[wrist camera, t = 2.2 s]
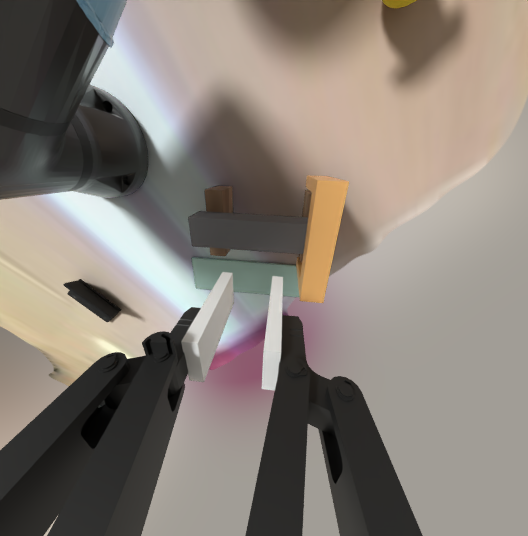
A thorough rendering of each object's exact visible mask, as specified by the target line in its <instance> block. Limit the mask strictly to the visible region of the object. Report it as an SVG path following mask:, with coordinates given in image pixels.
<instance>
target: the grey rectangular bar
mask: <svg viewBox="0 0 528 536" xmlns="http://www.w3.org/2000/svg"><path fill="white" fill-rule="evenodd" d="M188 220H189V227H190V234H191V242H192V246H195V247H209V248H223V249H237V250H251V251H265V252H279V253H293V254H303V253H304V246H305V239H306V231H307V224H308V217H292V216H275V215H258V214H241V213H224V212H207V211H199V212H197V213H195V214H193V215H192V216H190V217H188Z"/></svg>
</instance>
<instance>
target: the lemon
mask: <svg viewBox="0 0 528 536" xmlns="http://www.w3.org/2000/svg"><path fill="white" fill-rule="evenodd" d="M382 1H383V3H384V4H385V5H387V6H388V7H390V8H400V7H405V6H407V5H409V4H411V3H413V2H415V1H417V0H382Z"/></svg>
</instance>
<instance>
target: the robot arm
mask: <svg viewBox="0 0 528 536" xmlns="http://www.w3.org/2000/svg"><path fill="white" fill-rule="evenodd" d="M126 1H127V0H0V200H2V199H10V198H18V197H26V196H35V195H43V194H51V193H59V192H66V191H75V192H80V193H84V194H89V195H94V196H99V197H105V198H115V197H120V196H125V195H129V194H131V193H133V192H135V191H136V190H137V189H138V188H139V187H140V186H141V185H142V183H143V182H144V180H145V177H146V174H147V170H148V152H147V146H146V143H145V139H144V136H143V134H142V131H141V129H140V127H139V125H138V124H137V122H136V120H135V119H134V117H133V116H132V114H131V113H130V112H129V111H128V109H127V108H126V107H125V106H124V105H123V104H122V103H121V102H120V101H119V100H118V99H116V98H115V97H114V96H112V95H111V94H109V93H108V92H106V91H104V90H102V89H100V88H97V87H95V86H92V85H90V82H91V80H92V78H93V76H94V74H95V72H96V70H97V68H98V66H99V64H100V63H101V61H102V59H103V57H104V55H105V53H106V51H107V49H108V47H112V46H113V43H114V42H113V35H114V32H115V30H116V27H117V25H118V22H119V19H120V17H121V14H122V12H123V10H124V7H125V5H126ZM282 297H283V277H278V276H272V284H271V293H270V301H269V310H268V318H267V326H266V335H265V343H264V354H263V375H262V389H267V390H275V393H274V398H273V403H272V408H271V413H270V418H269V422H268V427H267V432H266V437H265V442H264V447H263V452H262V457H261V462H260V467H259V473H258V477H257V482H256V487H255V492H254V497H253V502H252V506H251V511H250V516H249V521H248V526H247V531H246V536H302V528H303V508H304V487H305V467H306V446H307V424H310V425H312V426H314V427H316V428H318V429H319V433H320V438H321V444H322V449H323V454H324V458H325V463H326V468H327V473H328V478H329V483H330V488H331V493H332V497H333V503H334V508H335V512H336V518H337V523H338V528H339V533H340V536H422V533H421V531H420V529H419V526H418V524H417V522H416V519H415V517H414V514H413V512H412V510H411V508H410V505H409V503H408V500H407V498H406V496H405V493H404V491H403V489H402V486H401V484H400V481H399V479H398V477H397V474H396V472H395V470H394V467H393V465H392V463H391V460H390V458H389V455H388V453H387V451H386V448H385V446H384V444H383V442H382V439H381V437H380V434H379V432H378V430H377V427H376V425H375V423H374V420H373V418H372V415H371V413H370V411H369V408H368V406H367V404H366V401H365V399H364V397H363V394H362V392H361V390H360V389H359V387H358V386H357V385H356V384H355V383H354V382H353V381H352V380H349V379H348V378H346V377H341V376H338V377H334V378H333V379H331V380H329V379H327V378H324V377H322V376H320V375H318V374H316V373H315V372H314V371H312V370H311V368H310V367H309V366H308V364H307V361H306V355H305V344H304V335H303V326H302V322H301V320H300V319H299V317H296V316H286V315H282ZM233 304H234V296H233V273H228V272H222V274H221V275H220V277H219V279H218V280H217V282H216V284H215V285H214V287H213V289H212V290H211V292H210V294H209V296H208V297H207V299H206V301H205V302H204V304H203V306H202V307H201V308H194V307H191V308H190V309H189V310H187V311H186V312H185V313H184V314H183V315H182V317H181V318H180V320H179V321H178V323H177V325H176V326H175V327H174V329H173V330H172V331H171V333H169V332H157V333H155V334H152V335H150V336H149V337H147V338H146V339H145V340H144V341H143V342H142V345H143V348H144V351H145V354H146V356H142V357H136V358H130V359H127V358H126V356H125V354H123V353H119V352H115V353H111V354H108V355H106V356H104V357H102V358H100V359H99V360H98V361H96V362H95V363H94V364H93V365H92V366H91V367H90V368H89V369H87V370H86V371H85V372H84V373H83V374H82V375H81V376H80V377H79V378H78V379H77V380H76V381H75V382H73V383H72V384H71V385H70V386H69V387H68V388H67V389H66V390H65V391H64V392H63V393H62V394H61V395H60V396H59V397H57V398H56V399H55V400H54V401H53V402H52V403H51V404H50V405H49V406H48V407H47V408H45V409H44V410H43V411H42V412H41V413H40V414H39V415H38V416H37V417H36V418H35V419H34V420H33V421H31V422H30V423H29V424H28V425H27V426H26V427H25V428H24V429H23V430H22V431H21V432H20V433H19V434H17V435H16V436H15V437H14V438H13V439H12V440H11V441H10V442H9V443H8V444H7V445H6V446H5V447H3V448H2V450H0V536H43V535H44V534H45V533H46V531H47V530H48V528H49V527H50V525H51V524H52V523H53V521H54V520H55V519H56V517H57V516H58V517H57V519H56V521H55V522H54V524H53V526H52V528H51V530H50V532H49V533H48V535H47V536H141V534H142V531H143V527H144V524H145V520H146V517H147V514H148V510H149V507H150V504H151V500H152V497H153V493H154V490H155V487H156V484H157V480H158V477H159V473H160V470H161V467H162V464H163V460H164V457H165V453H166V450H167V446H168V443H169V440H170V437H171V433H172V430H173V427H174V423H175V420H176V417H177V413H178V410H179V406H180V403H181V400H182V397H183V393H184V389H185V384H184V381H185V379H186V376H187V374H188V376H189V380H191V381H199V382H204V380H205V377H206V375H207V372H208V370H209V367H210V365H211V362H212V359H213V357H214V354H215V351H216V349H217V346H218V343H219V341H220V338H221V335H222V333H223V330H224V327H225V325H226V322H227V320H228V317H229V314H230V312H231V309H232V306H233ZM58 514H59V515H58Z"/></svg>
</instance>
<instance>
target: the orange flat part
mask: <svg viewBox="0 0 528 536" xmlns="http://www.w3.org/2000/svg"><path fill="white" fill-rule="evenodd" d="M348 185H349V182H348V181H344V180H340V179H336V178H332V177H328V176H308V175H307V180H306V187H307V188H308V189H309V190H310V192H311V193H312V195H311V202H310V210H309V217H308V224H307V231H306V239H305V246H304V253H303V260H302V262H300V257H297V261H296V269H297V278H298V288H299V297H300V301H306V302H317V303H323V302H324V296H325V292H326V288H327V283H328V278H329V274H330V269H331V264H332V259H333V255H334V250H335V245H336V241H337V236H338V231H339V227H340V222H341V217H342V213H343V208H344V203H345V199H346V194H347V189H348Z"/></svg>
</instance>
